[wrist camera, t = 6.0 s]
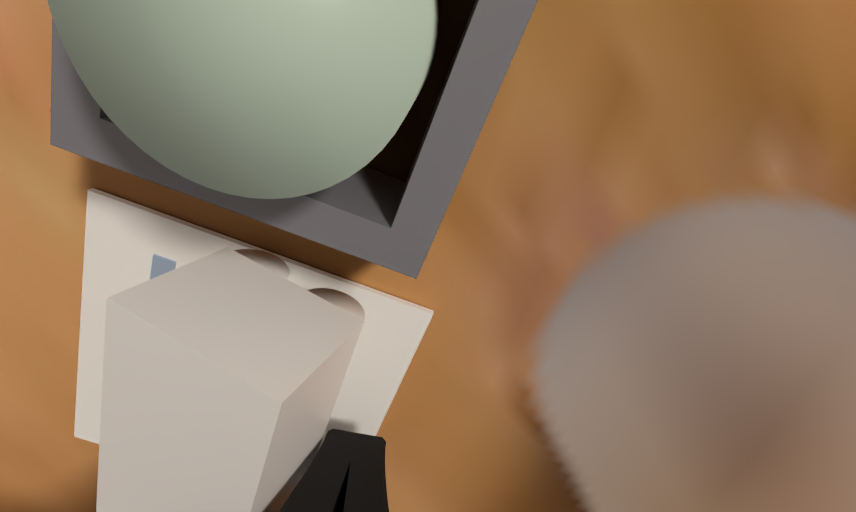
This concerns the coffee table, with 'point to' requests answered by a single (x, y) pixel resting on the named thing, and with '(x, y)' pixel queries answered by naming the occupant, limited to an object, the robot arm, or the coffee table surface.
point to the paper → (185, 242)
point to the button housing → (360, 193)
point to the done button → (253, 83)
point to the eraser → (218, 385)
